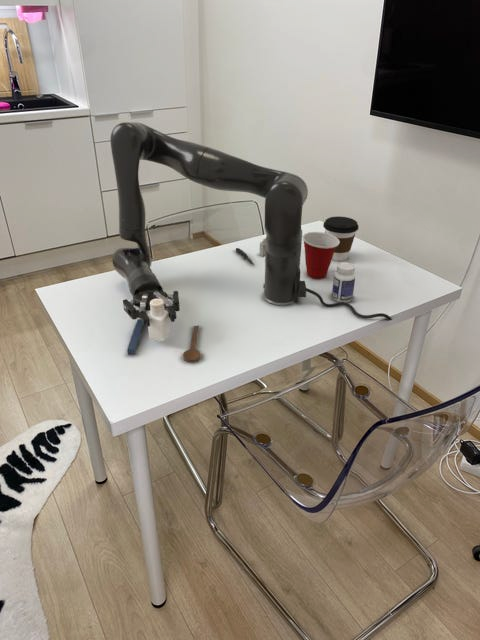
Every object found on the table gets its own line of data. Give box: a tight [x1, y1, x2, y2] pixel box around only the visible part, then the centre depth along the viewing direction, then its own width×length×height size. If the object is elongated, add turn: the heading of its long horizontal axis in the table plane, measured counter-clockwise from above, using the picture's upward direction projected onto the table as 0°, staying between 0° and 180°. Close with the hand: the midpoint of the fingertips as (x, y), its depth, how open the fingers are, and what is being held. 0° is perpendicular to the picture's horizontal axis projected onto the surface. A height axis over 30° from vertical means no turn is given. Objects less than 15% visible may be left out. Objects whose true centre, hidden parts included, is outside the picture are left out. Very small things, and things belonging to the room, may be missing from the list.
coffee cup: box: [323, 215, 359, 262], centre depth 155 cm, size 11×11×12 cm
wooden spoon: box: [182, 325, 202, 364], centre depth 116 cm, size 4×14×1 cm, turn 0°
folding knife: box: [235, 247, 254, 265], centre depth 156 cm, size 13×1×2 cm, turn 25°
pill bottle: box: [331, 261, 356, 303], centre depth 133 cm, size 6×6×10 cm
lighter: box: [259, 237, 266, 257], centre depth 159 cm, size 7×2×8 cm, turn 133°
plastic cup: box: [302, 231, 340, 280], centre depth 144 cm, size 11×11×12 cm
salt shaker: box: [147, 299, 171, 342], centre depth 114 cm, size 4×4×10 cm
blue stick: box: [126, 318, 145, 356], centre depth 118 cm, size 2×13×2 cm, turn 0°
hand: (160, 320), depth 111 cm, fingers closed on salt shaker, 5 cm apart
